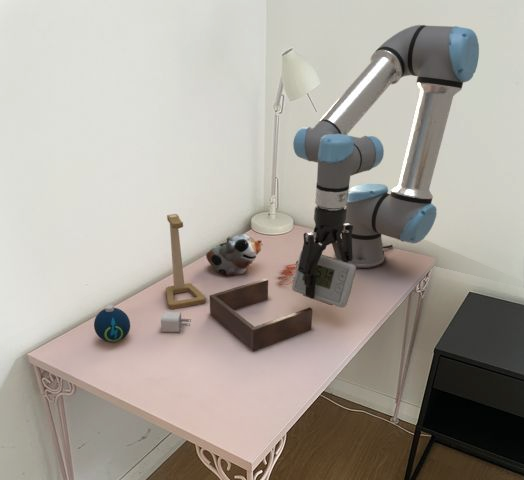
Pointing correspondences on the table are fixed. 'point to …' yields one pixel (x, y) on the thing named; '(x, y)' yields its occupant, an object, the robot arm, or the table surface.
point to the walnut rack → (245, 331)
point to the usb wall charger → (173, 322)
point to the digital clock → (328, 281)
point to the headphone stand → (179, 270)
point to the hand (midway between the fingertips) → (323, 292)
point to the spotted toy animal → (234, 254)
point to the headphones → (289, 273)
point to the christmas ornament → (112, 324)
